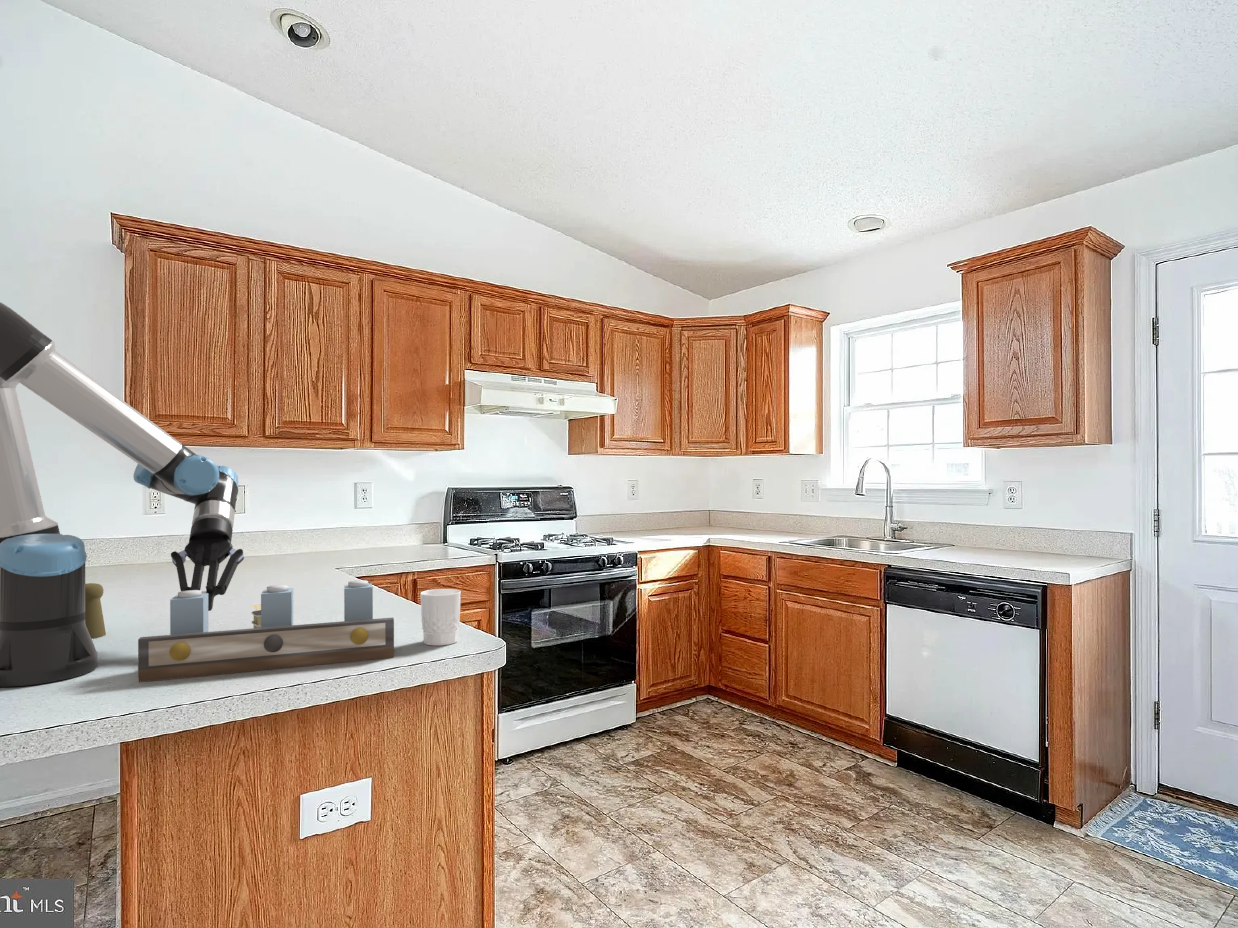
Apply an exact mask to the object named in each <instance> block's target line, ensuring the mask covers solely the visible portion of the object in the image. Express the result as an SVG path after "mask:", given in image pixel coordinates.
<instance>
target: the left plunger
mask: <svg viewBox="0 0 1238 928" xmlns="http://www.w3.org/2000/svg"><path fill="white" fill-rule="evenodd" d="M201 591H202V590H201V589H200V590H188V591H181V590H180V591H178V592H177V594H176V595H175V596H173V597H171V598H170V599H169V605H170V606H169V607H170V608H169V635H175V634H188V633H201V632H209V611H208V593H202V594H201Z"/></svg>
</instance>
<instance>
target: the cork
mask: <svg viewBox="0 0 1238 928" xmlns="http://www.w3.org/2000/svg"><path fill="white" fill-rule="evenodd" d="M103 595H104V587H103V585H102V584H99V583H93V582H90V583H89V582H88V583H85V624H86V627H87V629H88V632H89V634H90V637H91V639H96V638H102V637H104V636H106V635H107V632H106V627H105V620H104V614H103V608H102V607H103V606H102V602H101V598H102V597H103Z"/></svg>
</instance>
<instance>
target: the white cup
mask: <svg viewBox="0 0 1238 928" xmlns="http://www.w3.org/2000/svg"><path fill="white" fill-rule="evenodd" d="M461 594H462V591H461V590H460V589H456V588H455V589H454V588H435V589H427V590H424V591H421V592H420V610H421V615H420V617H421V626H422V628H421V629H422V632H423V633H422V634H423V644H424V645H427V646H433V647H434V646H436V647H437V646H440V647H441V646H447V645H453V644H456V643H457V642H458V641H459V631H460V629H459V628H460V621H461V619H460V617H461V599H462V597H461Z"/></svg>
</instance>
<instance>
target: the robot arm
mask: <svg viewBox="0 0 1238 928" xmlns="http://www.w3.org/2000/svg"><path fill="white" fill-rule="evenodd" d="M55 347H56V346H55V342H54V341H53V340H52V339H51V338H49V336H47V335H46V334H44V333H43V332H41V331H40V330H39V329H38V328H37V327H35V326H34V325H33V324H32V323H30V322H29V321H28V320H26V319H25V318H24V317H22V316H21V315H20V314H18V313H17V312H16V311H14V310H13V309H12V308H10V307H9V306H8V305H6V304H4V303H2V302H1V301H0V687H1V688H2V687H5V688H6V687H23V686H25V687H26V686H33V685H40V684H46V683H52V682H59V681H63V680H68V679H71V678H75V677H78V676H83V675H85V674H87V673H91V672H92V671H94V670H96V669H97V668H98V666H99V655H98V654H99V653H98V652H97V651H98V650H97V649H96V646H95V644H94V642H93V640H92V639H91V637H90V634H89V632H88V629H87V627H86V624H85V584H86V561H87V557H88V555H87V553H86V546H85V542H84V541H83V539H82V538H80V537H79V536H75V535H71V534H62V533H61V532H60V528H59V523H58V522H56V521H55V520H53V519H51V518H49V517H48V516H46V514H45V508H44V505H43V501H42V496H41V493H40V489H39V483H38V479H37V475H36V471H35V466H34V462H33V457H32V453H31V449H30V445H29V440H28V437H27V431H26V429H25V428H26V427H25V424H24V419H23V414H22V410H21V405H20V403H19V399H18V394H17V390H16V388H17V386H18V384H21V385H22V386H23V387H25V388H27V389H28V390H30V392H32V393H34V394H36V395H37V396H39V397H40V398H41V399H42V400H44V401H46V402H47V403H49V404H50V405H52V406H53V407H55V408H56V409H58V410H59V411H61V412H62V413H63V414H65V415H66V416H67V417H69V418H71V419H72V420H74V421H75V422H77V423H78V424H80V425H81V426H82V427H84V428H85V429H87V430H88V431H89V432H90V433H93V434H94V435H95V436H97V437H99V439H101V440H102V441H104V442H106V443H107V444H109V446H111V447H113V448H115V450H117V451H118V452H120V453H122V454H123V455H124V456H127V458H129V459H130V460H132V461H133V462H135V463H136V467H135V470H134V472H133V481H134V482H135V483H137V484H139V485H141V486H144V487H146V488H147V489H149V490H150V489H152V490H155V491H157V492H160V493H163V494H166V495H169V496H171V497H173V498H177V499H180V500H183V501H184V502H188V503H191V504H193V505H194V511H193V516H192V522H191V527H190V534H189V539H188V543H187V544H186V545H185V547H184V550H182V551H179V552H178V551H172V552H171V553H170V556H171V561H172V564H173V565H174V566H175V568H176V572H177V576H178V577H177V578H178V584H179V589H180V592H181V591H188V590H201V589H202V584H203V582H202V581H203V575H204V571H205V567H207V566H209V567H208V572H207V573H208V574H207V581H206V585H205V590H201V594H202V593H208V612H211V611H213V610H212V609H213V606H214V599H215V598H216V597H217V596H219V595H220V596H224V595H226V592H227V590H228V588H229V585H230V583H231V581H232V579H233V577H234V575H235V573H236V569H237V567H238V566H239V564H241V563H242V562H243V561H244V559H245V556H244V555H245V554H244V550H243V549H242V548H238V549H236V548H234V546H233V544H232V541H233V540H232V538H233V528H234V522H235V515H236V514H235V512H236V504H237V497H238V494H239V477H238V474H237V472H236V471H235V470H234V469H232V468H231V467H229V466H225V465H218V464H216V463H215V462H214V461H213V460H211V458H208V457H206V456H203V455H199V454H196V453H195V452H193V450H191V449H190V448H188V447H187V446H185V444H182V443H181V442H180V441H179V440H177V439H176V438H175V437H173V436H172V435H170V434H169V433H168V432H166V430H164V429H163V428H161V427H160V426H158V425H157V424H155V423H154V422H153V421H152V420H150V419H149V418H148V417H146V416H145V415H143V414H142V413H141V412H139V411H138V410H137V409H135V408H134V407H132V405H130V404H128V403H127V402H126V401H125V400H124V399H121V398H120V397H119V396H118V395H117V394H115V393H114V392H112V391H111V390H109V389H108V388H107V387H106V386H105V385H103V384H101V383H100V382H99V381H98V380H96V379H94V377H92V376H90V375H89V374H88V373H86V371H84V370H82V369H81V368H80V367H78V365H76V364H75V363H73V362H72V361H70V360H69V359H68V358H67V357H65V356H64V355H62V354H61V353H59V352H58V351H57V350H56V348H55ZM187 557H188V559H189V560H190V561H191V562H192V563H193V564H194V567H193V574H192V579H191V585H190V586H189V585H188V579H187V575H186V574H187V573H186V569H185V565H184V564H185V562H186V561H187V559H186V558H187ZM228 557H229V559H228V561H227V563H226V565H225V567H224V570H223V571H222V573H221V576H220V578H219V581H218V574H219V573H218V572H219V569H220V564H221V563H223V562H224V561H225V560H226V559H227V558H228Z"/></svg>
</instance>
